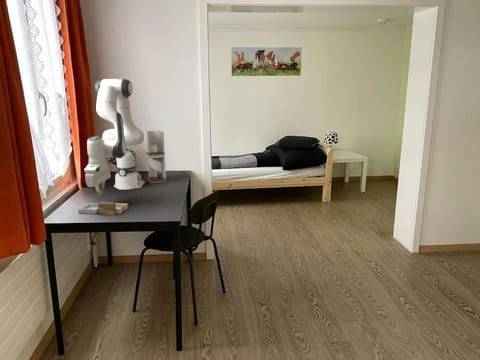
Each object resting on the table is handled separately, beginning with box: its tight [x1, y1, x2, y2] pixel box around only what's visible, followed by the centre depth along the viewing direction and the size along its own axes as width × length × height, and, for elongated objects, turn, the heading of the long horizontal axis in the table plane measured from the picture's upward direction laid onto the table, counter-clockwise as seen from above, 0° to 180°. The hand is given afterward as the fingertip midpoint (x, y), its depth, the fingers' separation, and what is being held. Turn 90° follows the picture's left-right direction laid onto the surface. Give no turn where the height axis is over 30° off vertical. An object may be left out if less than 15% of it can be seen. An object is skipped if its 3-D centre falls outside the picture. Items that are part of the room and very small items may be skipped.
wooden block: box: [97, 201, 117, 216], centre depth 196 cm, size 3×8×6 cm, turn 82°
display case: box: [144, 130, 167, 184], centre depth 264 cm, size 11×11×35 cm
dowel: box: [97, 182, 104, 197], centre depth 210 cm, size 3×3×8 cm
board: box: [98, 202, 129, 215], centre depth 203 cm, size 10×12×3 cm
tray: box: [77, 202, 99, 215], centre depth 202 cm, size 10×10×2 cm
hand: (100, 190), depth 210 cm, fingers closed on dowel, 3 cm apart
